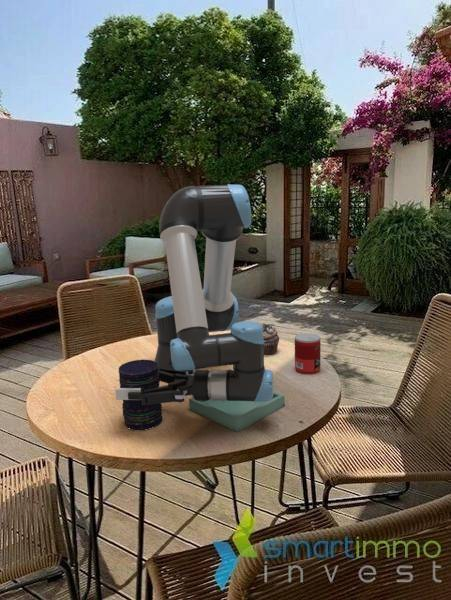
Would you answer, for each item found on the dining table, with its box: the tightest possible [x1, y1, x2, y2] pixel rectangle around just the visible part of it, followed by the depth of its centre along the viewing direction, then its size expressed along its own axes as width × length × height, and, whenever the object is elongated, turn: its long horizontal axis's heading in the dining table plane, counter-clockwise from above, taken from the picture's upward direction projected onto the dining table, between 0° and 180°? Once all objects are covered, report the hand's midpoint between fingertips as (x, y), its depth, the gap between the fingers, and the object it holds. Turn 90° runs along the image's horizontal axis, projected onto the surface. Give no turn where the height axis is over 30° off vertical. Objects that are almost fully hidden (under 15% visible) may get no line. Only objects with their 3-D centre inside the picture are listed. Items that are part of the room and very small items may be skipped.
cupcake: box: [260, 323, 280, 356], centre depth 162 cm, size 10×10×10 cm
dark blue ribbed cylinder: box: [118, 359, 163, 431], centre depth 116 cm, size 10×10×15 cm
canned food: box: [294, 332, 322, 375], centre depth 144 cm, size 8×8×11 cm
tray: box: [188, 390, 285, 433], centre depth 123 cm, size 18×18×3 cm
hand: (123, 384), depth 116 cm, fingers closed on dark blue ribbed cylinder, 10 cm apart
